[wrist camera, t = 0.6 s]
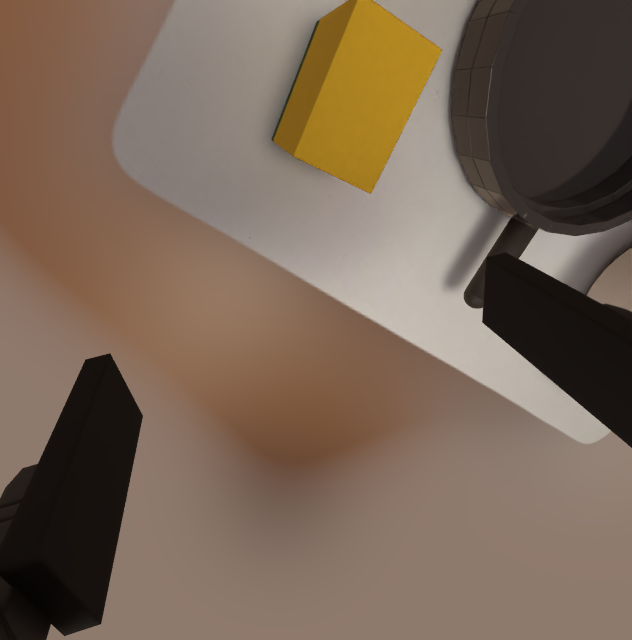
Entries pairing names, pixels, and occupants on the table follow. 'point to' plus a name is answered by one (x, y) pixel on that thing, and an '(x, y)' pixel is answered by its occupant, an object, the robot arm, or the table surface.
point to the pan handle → (510, 242)
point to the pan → (548, 111)
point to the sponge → (355, 92)
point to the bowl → (615, 283)
